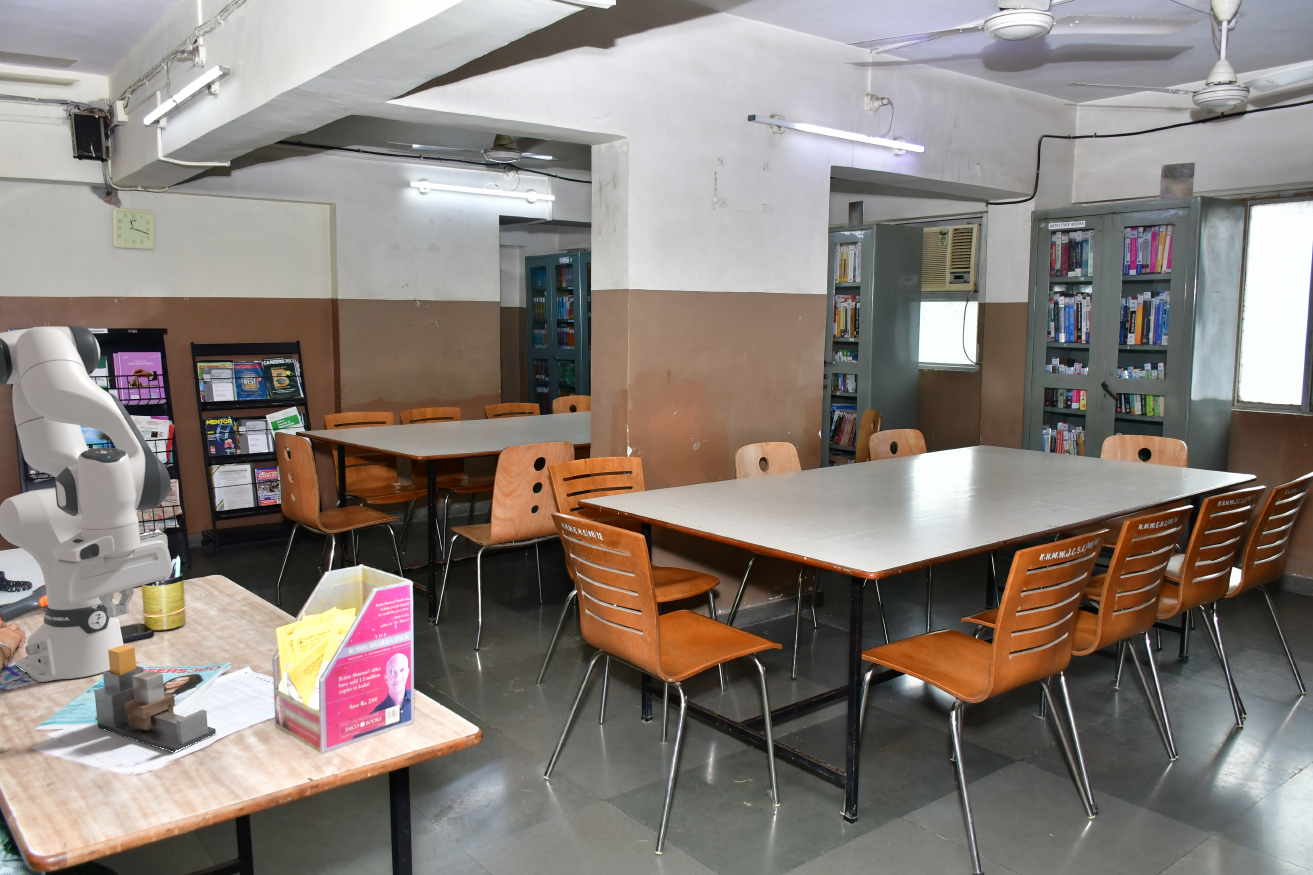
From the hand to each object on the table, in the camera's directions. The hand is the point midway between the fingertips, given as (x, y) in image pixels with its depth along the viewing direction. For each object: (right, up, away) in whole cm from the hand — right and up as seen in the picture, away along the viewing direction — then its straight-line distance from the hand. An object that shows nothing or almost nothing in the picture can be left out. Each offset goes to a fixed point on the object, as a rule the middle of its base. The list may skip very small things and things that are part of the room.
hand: (118, 614), depth 167 cm
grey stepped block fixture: (+7, -21, -1) cm, 22 cm away
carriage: (+6, -19, -1) cm, 20 cm away
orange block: (0, -11, +2) cm, 11 cm away
